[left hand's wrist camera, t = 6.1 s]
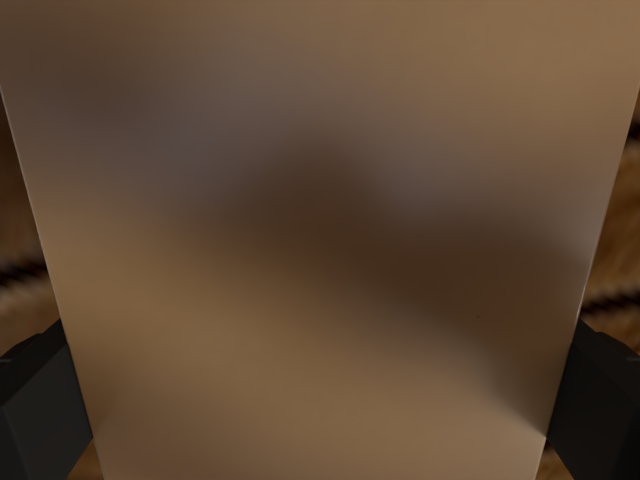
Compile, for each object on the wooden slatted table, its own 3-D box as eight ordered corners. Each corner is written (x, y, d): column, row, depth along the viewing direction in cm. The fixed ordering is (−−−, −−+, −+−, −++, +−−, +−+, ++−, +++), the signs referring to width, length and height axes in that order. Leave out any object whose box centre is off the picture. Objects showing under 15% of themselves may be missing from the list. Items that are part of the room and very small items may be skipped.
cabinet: (163, -138, 14) (-219, -709, 4) (475, -137, 14) (856, -705, 4) (212, 305, 20) (109, 507, 10) (426, 305, 20) (529, 506, 10)
